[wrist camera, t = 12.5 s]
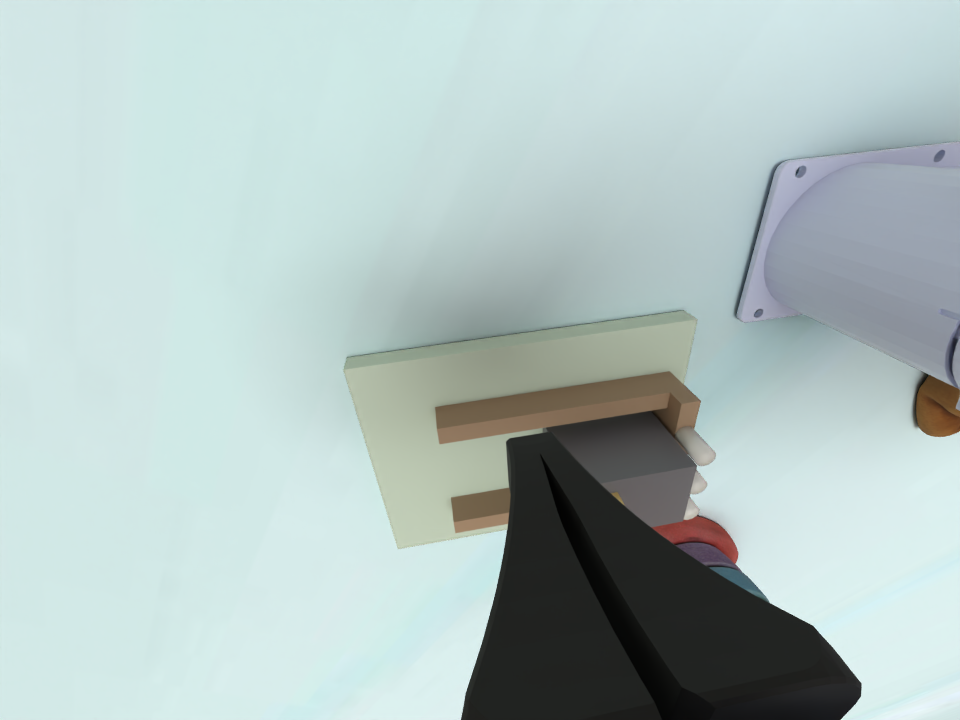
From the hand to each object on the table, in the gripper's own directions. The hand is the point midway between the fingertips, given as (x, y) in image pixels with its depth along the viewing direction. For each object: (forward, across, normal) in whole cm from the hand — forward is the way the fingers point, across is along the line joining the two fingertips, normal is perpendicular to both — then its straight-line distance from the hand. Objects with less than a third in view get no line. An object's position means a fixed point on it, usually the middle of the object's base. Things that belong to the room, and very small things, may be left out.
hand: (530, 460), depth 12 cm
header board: (+10, -2, +8) cm, 13 cm away
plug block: (+9, -6, +8) cm, 13 cm away
